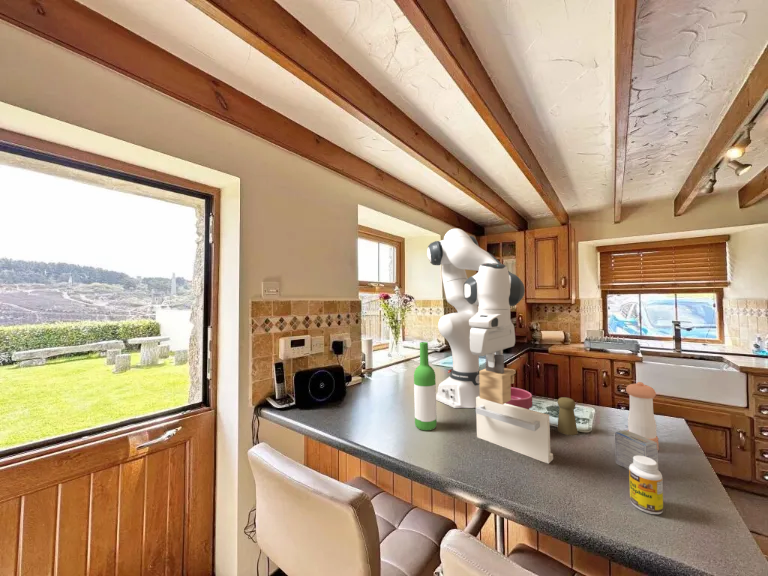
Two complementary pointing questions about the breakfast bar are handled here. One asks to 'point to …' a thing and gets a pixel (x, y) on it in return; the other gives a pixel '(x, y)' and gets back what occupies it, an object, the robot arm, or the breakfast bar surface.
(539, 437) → the wall board
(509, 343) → the robot arm
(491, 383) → the oak cabinet block
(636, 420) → the pepper shaker
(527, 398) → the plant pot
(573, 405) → the pepper shaker
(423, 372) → the wine bottle
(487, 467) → the breakfast bar surface
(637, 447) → the medicine box
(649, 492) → the supplement bottle
